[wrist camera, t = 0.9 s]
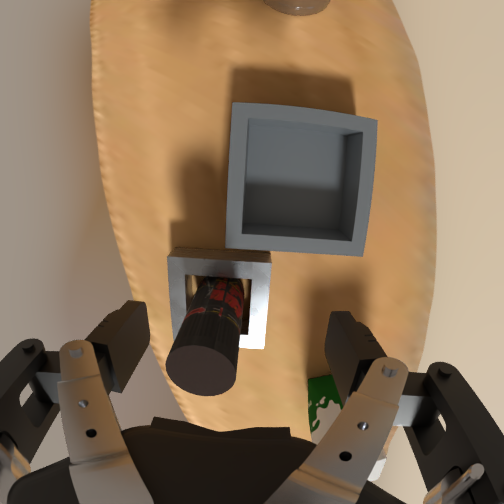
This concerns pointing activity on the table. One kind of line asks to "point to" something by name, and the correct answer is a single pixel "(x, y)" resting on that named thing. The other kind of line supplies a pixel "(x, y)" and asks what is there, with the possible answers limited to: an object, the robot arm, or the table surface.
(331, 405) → the milk carton
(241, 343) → the socket collar
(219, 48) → the table surface
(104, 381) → the robot arm
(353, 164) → the bin
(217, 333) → the deodorant
